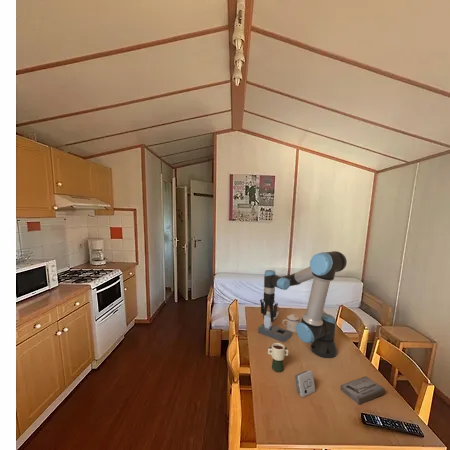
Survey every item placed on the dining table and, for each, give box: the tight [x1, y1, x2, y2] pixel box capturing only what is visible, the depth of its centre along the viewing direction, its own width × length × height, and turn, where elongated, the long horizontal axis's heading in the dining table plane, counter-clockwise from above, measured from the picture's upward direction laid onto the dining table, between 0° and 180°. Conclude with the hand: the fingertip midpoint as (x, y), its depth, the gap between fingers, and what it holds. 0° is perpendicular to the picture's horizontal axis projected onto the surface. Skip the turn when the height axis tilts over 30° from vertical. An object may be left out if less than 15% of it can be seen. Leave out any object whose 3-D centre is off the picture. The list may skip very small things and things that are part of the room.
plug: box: [264, 314, 271, 329], centre depth 181 cm, size 4×4×10 cm
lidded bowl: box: [264, 304, 280, 321], centre depth 204 cm, size 13×13×11 cm
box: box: [340, 376, 386, 406], centre depth 123 cm, size 11×17×3 cm, turn 112°
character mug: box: [267, 342, 289, 373], centre depth 140 cm, size 11×7×13 cm, turn 85°
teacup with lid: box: [282, 313, 300, 333], centre depth 186 cm, size 12×9×12 cm
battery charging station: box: [257, 323, 292, 343], centre depth 178 cm, size 20×10×5 cm, turn 51°
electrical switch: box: [294, 370, 316, 398], centre depth 123 cm, size 9×5×9 cm, turn 121°
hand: (268, 324), depth 181 cm, fingers closed on plug, 3 cm apart
